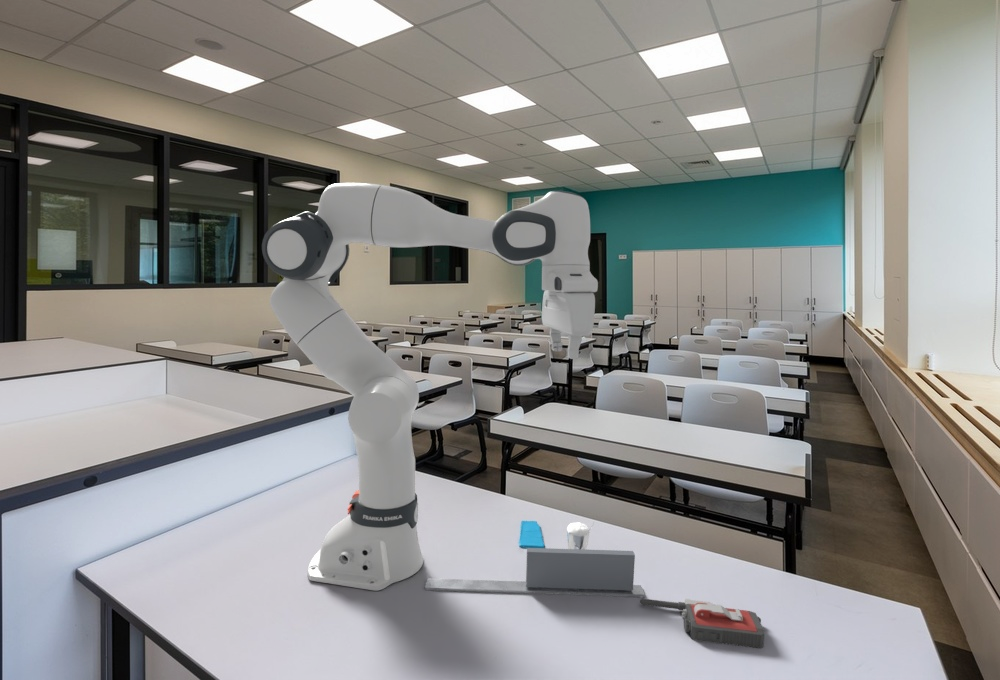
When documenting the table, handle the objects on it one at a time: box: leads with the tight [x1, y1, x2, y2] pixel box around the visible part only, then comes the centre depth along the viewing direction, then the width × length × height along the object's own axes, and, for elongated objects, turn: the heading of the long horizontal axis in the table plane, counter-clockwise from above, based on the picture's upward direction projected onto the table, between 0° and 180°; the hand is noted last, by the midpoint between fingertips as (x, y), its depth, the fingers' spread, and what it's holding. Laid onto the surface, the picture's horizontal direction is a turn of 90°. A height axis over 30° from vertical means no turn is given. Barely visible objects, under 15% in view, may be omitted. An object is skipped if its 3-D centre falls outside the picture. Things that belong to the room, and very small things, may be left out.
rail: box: [424, 578, 645, 598], centre depth 99 cm, size 41×3×1 cm, turn 89°
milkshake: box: [566, 521, 595, 550], centre depth 106 cm, size 5×5×10 cm
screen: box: [525, 547, 636, 590], centre depth 99 cm, size 20×2×7 cm, turn 89°
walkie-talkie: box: [639, 598, 765, 649], centre depth 90 cm, size 9×4×20 cm
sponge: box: [518, 520, 546, 549], centre depth 120 cm, size 2×12×6 cm
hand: (564, 354), depth 99 cm, fingers open, 8 cm apart
